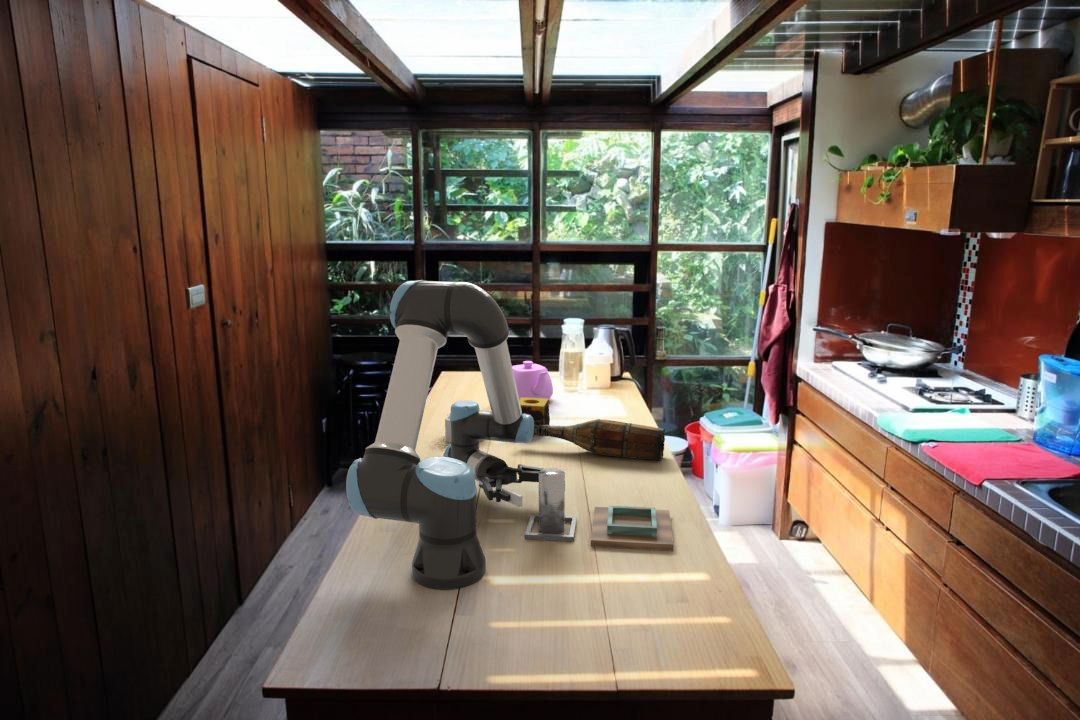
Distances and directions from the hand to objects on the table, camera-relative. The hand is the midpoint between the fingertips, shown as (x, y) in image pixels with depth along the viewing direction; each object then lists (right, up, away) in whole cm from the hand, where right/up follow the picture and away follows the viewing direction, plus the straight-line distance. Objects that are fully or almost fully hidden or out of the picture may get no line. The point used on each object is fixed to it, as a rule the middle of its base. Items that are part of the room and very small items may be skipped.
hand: (543, 493), depth 173 cm
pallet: (+21, -8, -2) cm, 22 cm away
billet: (+2, -8, -2) cm, 8 cm away
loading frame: (+2, -8, -2) cm, 8 cm away
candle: (-3, +8, +71) cm, 71 cm away
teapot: (-5, +16, +106) cm, 108 cm away
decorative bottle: (+14, +3, +50) cm, 52 cm away
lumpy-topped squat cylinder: (-24, +6, +64) cm, 68 cm away
